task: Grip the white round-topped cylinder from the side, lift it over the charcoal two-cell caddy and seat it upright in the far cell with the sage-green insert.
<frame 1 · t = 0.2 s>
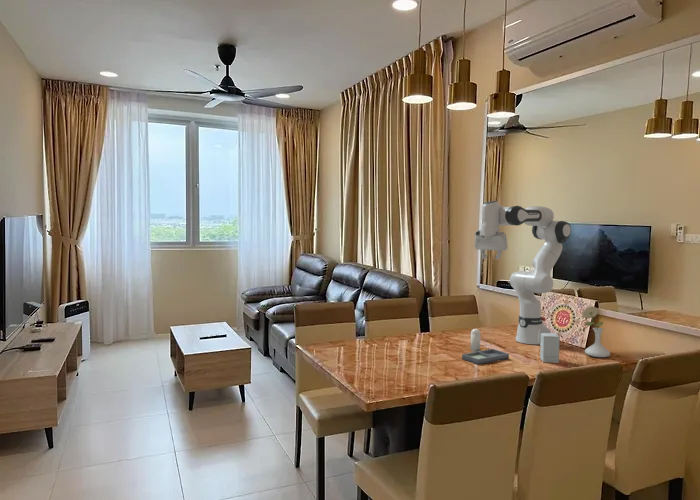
hand: (491, 258, 249), 48 cm above the table, tool pointing down, fingers open, 8 cm apart
caddy: (485, 359, 233), on the table
supplement box: (549, 360, 230), on the table
white round-topped cylinder: (475, 350, 248), on the table
flower in vase: (595, 356, 238), on the table
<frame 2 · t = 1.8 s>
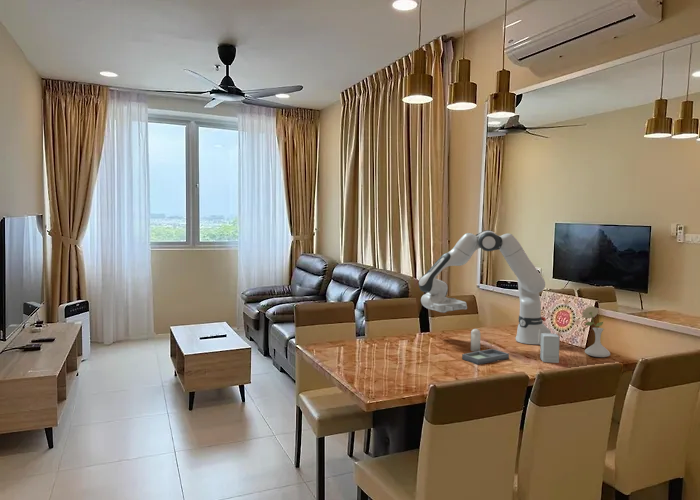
hand: (459, 308, 258), 20 cm above the table, tool horizontal, fingers open, 8 cm apart
nothing on the table moved.
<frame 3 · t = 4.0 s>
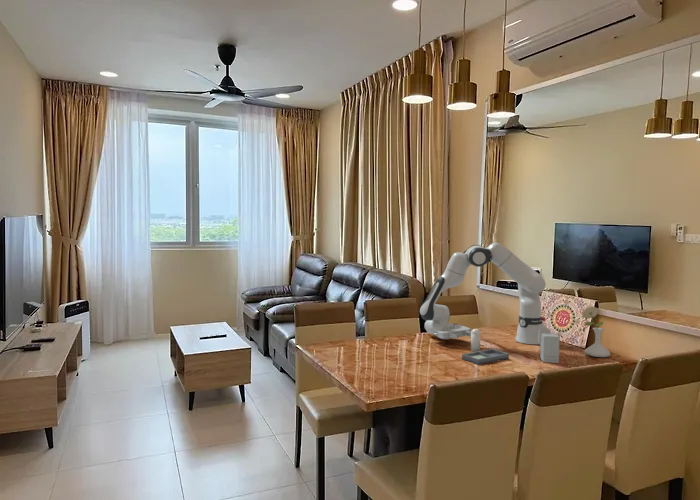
hand: (463, 335, 256), 6 cm above the table, tool horizontal, fingers open, 8 cm apart
nothing on the table moved.
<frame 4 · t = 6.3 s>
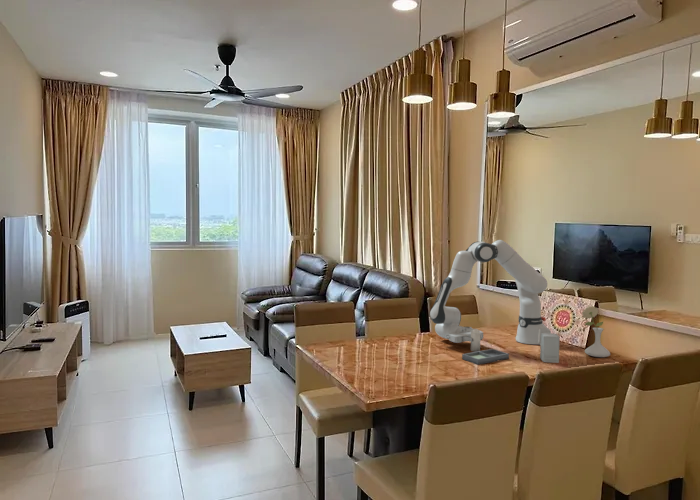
hand: (476, 339, 247), 6 cm above the table, tool horizontal, fingers closed on white round-topped cylinder, 5 cm apart
white round-topped cylinder: (475, 350, 248), on the table, touching gripper
everything else where it was.
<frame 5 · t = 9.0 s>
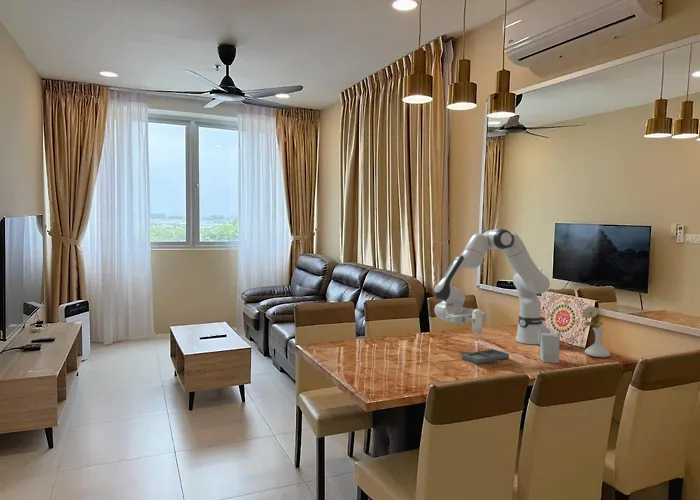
hand: (478, 320, 231), 19 cm above the table, tool horizontal, fingers closed on white round-topped cylinder, 5 cm apart
white round-topped cylinder: (476, 332, 232), point 13 cm above the table, touching gripper
everything else where it was.
when the fingers open (8 cm above the table, at t = 11.7 s): white round-topped cylinder drops 1 cm, resting on caddy.
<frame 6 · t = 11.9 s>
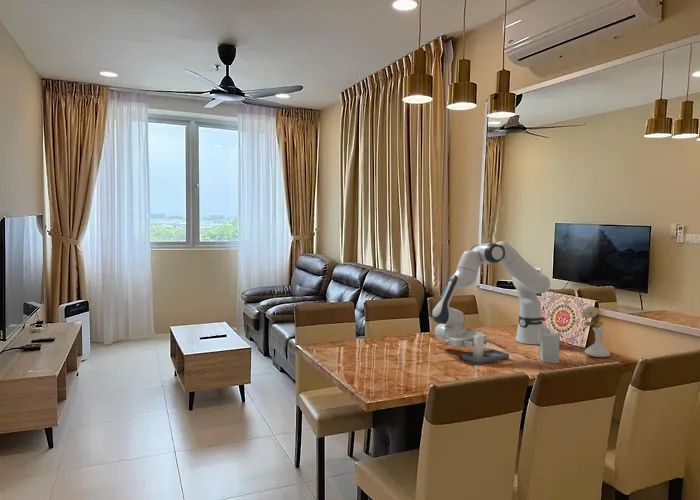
hand: (479, 343, 229), 8 cm above the table, tool horizontal, fingers open, 7 cm apart
white round-topped cylinder: (477, 357, 230), point 1 cm above the table, touching caddy
everything else where it was.
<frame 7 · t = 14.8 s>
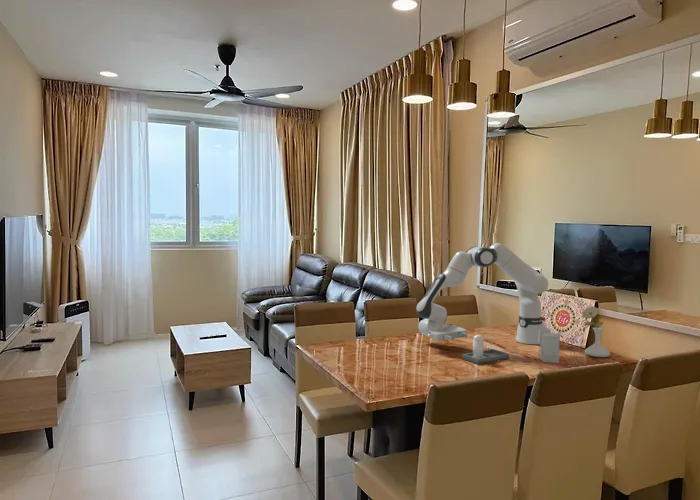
hand: (459, 337, 241), 9 cm above the table, tool horizontal, fingers open, 8 cm apart
nothing on the table moved.
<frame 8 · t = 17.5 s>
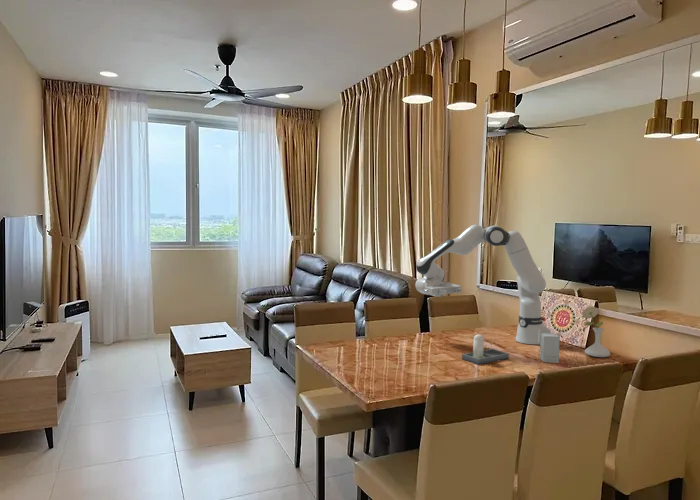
hand: (454, 291, 252), 30 cm above the table, tool horizontal, fingers open, 8 cm apart
nothing on the table moved.
at the end: white round-topped cylinder 0.0 cm from the target spot on the caddy, point 1.3 cm above the caddy's base; white round-topped cylinder tilted 2°; the gripper is holding nothing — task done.
